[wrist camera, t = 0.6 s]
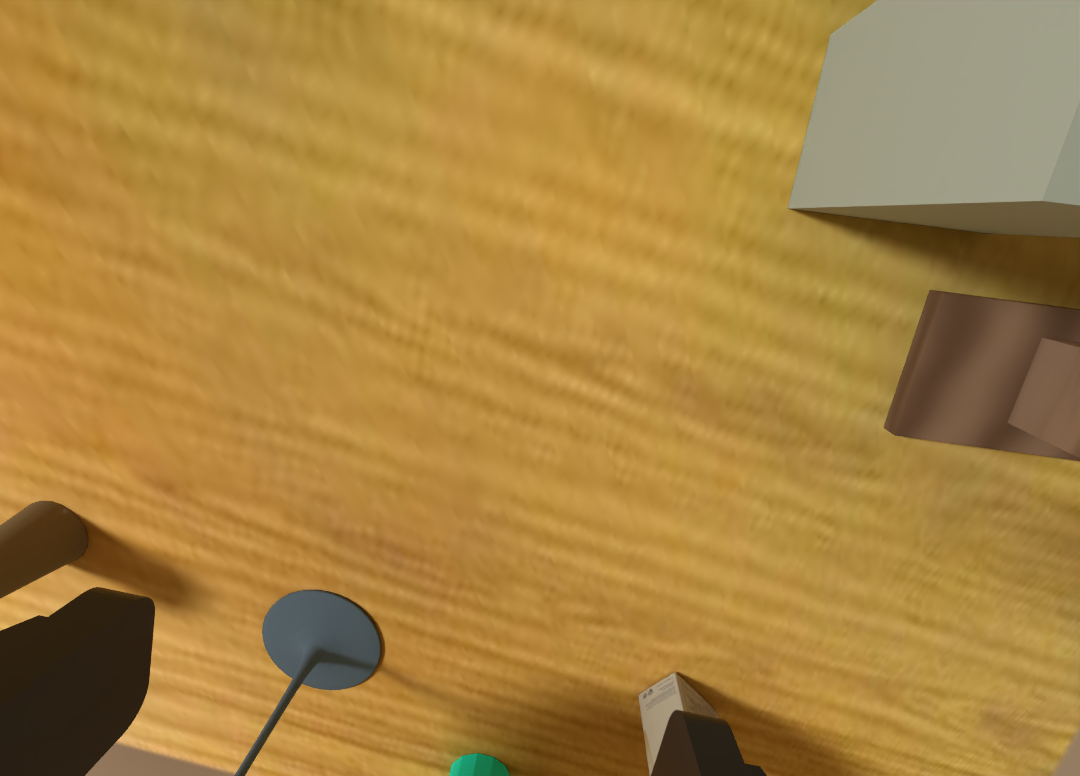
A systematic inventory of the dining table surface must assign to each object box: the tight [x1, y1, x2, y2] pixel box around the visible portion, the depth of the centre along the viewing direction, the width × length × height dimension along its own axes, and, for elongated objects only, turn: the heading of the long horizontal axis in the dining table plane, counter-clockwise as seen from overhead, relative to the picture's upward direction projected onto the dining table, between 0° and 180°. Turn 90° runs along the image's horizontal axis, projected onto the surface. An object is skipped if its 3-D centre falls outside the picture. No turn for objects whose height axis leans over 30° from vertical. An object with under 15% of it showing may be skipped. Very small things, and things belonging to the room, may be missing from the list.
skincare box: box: [639, 673, 718, 776], centre depth 43 cm, size 6×4×12 cm
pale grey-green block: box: [788, 0, 1080, 238], centre depth 24 cm, size 13×10×21 cm
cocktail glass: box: [235, 590, 381, 776], centre depth 38 cm, size 18×18×25 cm
